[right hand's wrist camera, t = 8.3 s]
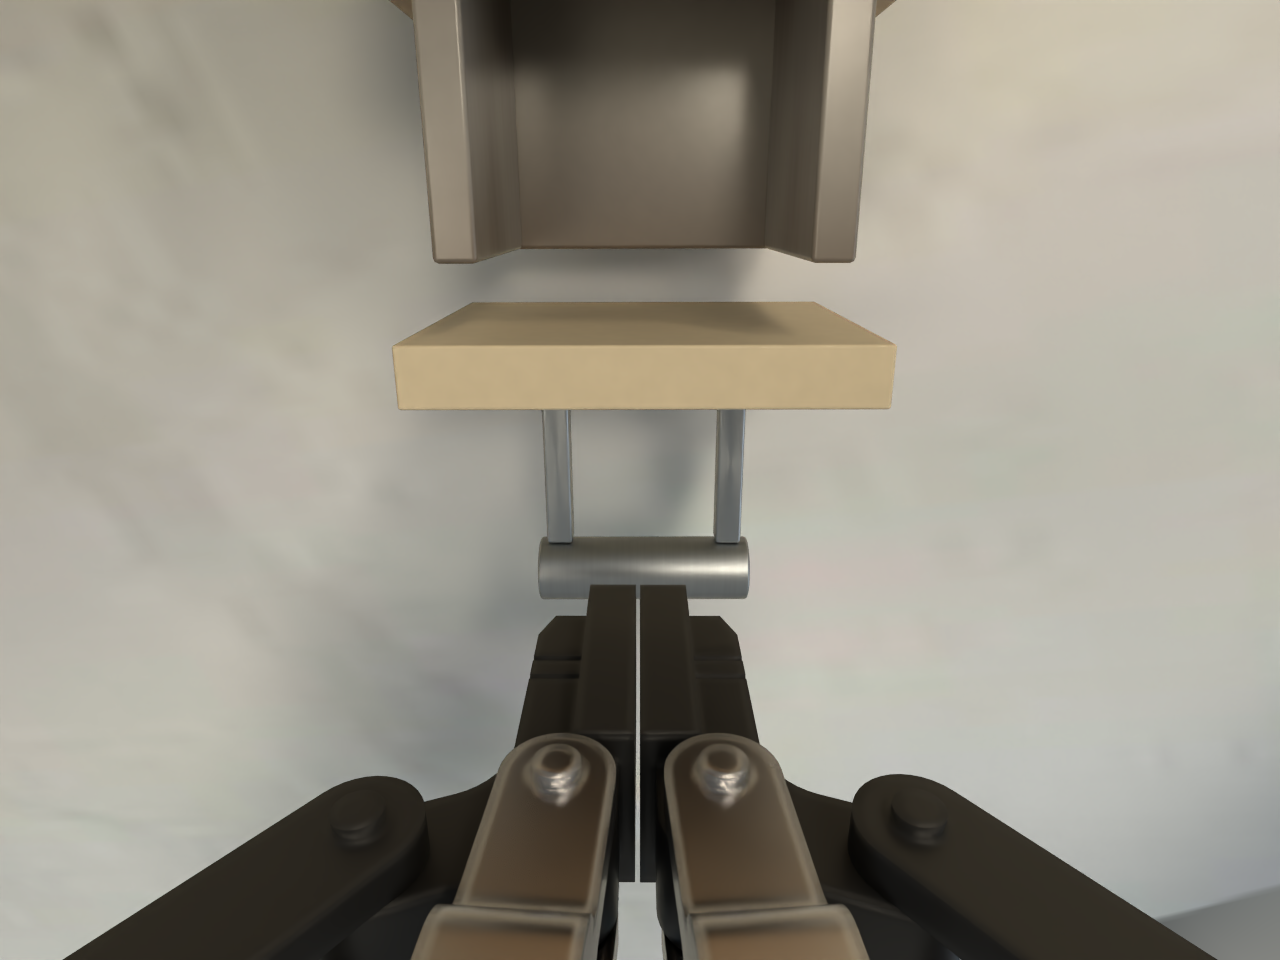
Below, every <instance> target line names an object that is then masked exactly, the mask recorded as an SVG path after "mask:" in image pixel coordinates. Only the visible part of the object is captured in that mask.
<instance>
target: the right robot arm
mask: <svg viewBox="0 0 1280 960" xmlns="http://www.w3.org/2000/svg"><path fill="white" fill-rule="evenodd" d="M635 795H636V584H591V585H590V591H589V599H588V608H587V616H556V617H555V618H554V619H553V620H552V621H551V622H550V623H549V624H548V625H547V626H546V627H545V628H544V629H543V631H542V632H541V633H540V634H539V636H538V640H537V645H536V650H535V654H534V660H533V663H532V668H531V673H530V679H529V682H528V687H527V691H526V696H525V701H524V705H523V710H522V715H521V719H520V724H519V729H518V733H517V738H516V743H515V747H514V749H513V750H512V751H511V752H510V753H509V754H508V755H507V756H506V757H505V759H504V760H503V761H502V763H501V765H500V767H499V770H498V773H497V774H495V775H494V776H493V777H491V778H490V779H489V780H487V781H485V782H484V783H482V784H480V785H478V786H476V787H474V788H472V789H469V790H467V791H464V792H460V793H457V794H454V795H450V796H446V797H442V798H438V799H434V800H430V801H426V802H424V801H423V798H422V796H421V794H420V793H419V791H418V790H417V789H416V788H415V787H414V786H412V785H411V784H409V783H407V782H406V781H403V780H400V779H398V778H393V777H387V776H371V777H363V778H358V779H354V780H351V781H347V782H344V783H342V784H340V785H337V786H335V787H333V788H331V789H329V790H328V791H326V792H324V793H322V794H321V795H319V796H318V797H316V798H315V799H313V800H311V801H310V802H308V803H307V804H305V805H304V806H302V807H301V808H299V809H297V810H296V811H294V812H293V813H291V814H290V815H288V816H286V817H285V818H283V819H282V820H280V821H279V822H277V823H276V824H274V825H272V826H271V827H269V828H268V829H266V830H265V831H263V832H261V833H260V834H258V835H257V836H255V837H254V838H252V839H251V840H249V841H247V842H246V843H244V844H243V845H241V846H240V847H238V848H236V849H235V850H233V851H232V852H230V853H229V854H227V855H226V856H224V857H222V858H221V859H219V860H218V861H216V862H215V863H213V864H211V865H210V866H208V867H207V868H205V869H204V870H202V871H201V872H199V873H197V874H196V875H194V876H193V877H191V878H190V879H188V880H186V881H185V882H183V883H182V884H180V885H179V886H177V887H176V888H174V889H172V890H171V891H169V892H168V893H166V894H165V895H163V896H161V897H160V898H158V899H157V900H155V901H154V902H152V903H151V904H149V905H147V906H146V907H144V908H143V909H141V910H140V911H138V912H136V913H135V914H133V915H132V916H130V917H129V918H127V919H126V920H124V921H122V922H121V923H119V924H118V925H116V926H115V927H113V928H111V929H110V930H108V931H107V932H105V933H104V934H102V935H101V936H99V937H97V938H96V939H94V940H93V941H91V942H90V943H88V944H86V945H85V946H83V947H82V948H80V949H79V950H77V951H76V952H74V953H72V954H71V955H69V956H68V957H66V958H65V959H63V960H617V952H618V894H619V882H635ZM640 882H656V909H657V917H658V920H659V923H660V926H661V928H662V952H663V960H960V959H961V960H1217V959H1215V958H1214V957H1212V956H1211V955H1209V954H1208V953H1206V952H1204V951H1203V950H1201V949H1200V948H1198V947H1197V946H1195V945H1193V944H1192V943H1190V942H1189V941H1187V940H1186V939H1184V938H1183V937H1181V936H1179V935H1178V934H1176V933H1175V932H1173V931H1172V930H1170V929H1168V928H1167V927H1165V926H1164V925H1162V924H1161V923H1159V922H1158V921H1156V920H1154V919H1153V918H1151V917H1150V916H1148V915H1147V914H1145V913H1143V912H1142V911H1140V910H1139V909H1137V908H1136V907H1134V906H1133V905H1131V904H1129V903H1128V902H1126V901H1125V900H1123V899H1122V898H1120V897H1118V896H1117V895H1115V894H1114V893H1112V892H1111V891H1109V890H1108V889H1106V888H1104V887H1103V886H1101V885H1100V884H1098V883H1097V882H1095V881H1094V880H1092V879H1090V878H1089V877H1087V876H1086V875H1084V874H1083V873H1081V872H1079V871H1078V870H1076V869H1075V868H1073V867H1072V866H1070V865H1069V864H1067V863H1065V862H1064V861H1062V860H1061V859H1059V858H1058V857H1056V856H1054V855H1053V854H1051V853H1050V852H1048V851H1047V850H1045V849H1044V848H1042V847H1040V846H1039V845H1037V844H1036V843H1034V842H1033V841H1031V840H1029V839H1028V838H1026V837H1025V836H1023V835H1022V834H1020V833H1019V832H1017V831H1015V830H1014V829H1012V828H1011V827H1009V826H1008V825H1006V824H1004V823H1003V822H1001V821H1000V820H998V819H997V818H995V817H994V816H992V815H990V814H989V813H987V812H986V811H984V810H983V809H981V808H979V807H978V806H976V805H975V804H973V803H972V802H970V801H969V800H967V799H965V798H964V797H962V796H961V795H959V794H958V793H956V792H954V791H953V790H951V789H949V788H948V787H946V786H944V785H942V784H940V783H937V782H935V781H932V780H929V779H926V778H923V777H918V776H913V775H905V774H892V775H885V776H880V777H877V778H874V779H872V780H870V781H868V782H867V783H865V784H864V785H863V786H862V787H860V788H859V790H858V791H857V793H856V794H855V796H854V799H853V803H851V802H847V801H843V800H839V799H835V798H831V797H827V796H823V795H819V794H816V793H813V792H810V791H807V790H805V789H802V788H800V787H797V786H796V785H794V784H792V783H790V782H789V781H787V780H786V779H785V778H784V776H783V773H782V770H781V767H780V765H779V763H778V761H777V760H776V759H775V757H774V756H773V755H772V754H771V753H770V752H769V751H768V750H767V749H766V748H764V747H763V746H761V745H760V744H759V739H758V734H757V729H756V724H755V719H754V714H753V709H752V705H751V700H750V695H749V690H748V685H747V680H746V679H745V671H744V666H743V661H742V656H741V651H740V646H739V641H738V637H737V634H736V633H735V632H734V631H733V630H732V629H731V628H730V627H729V625H728V624H727V623H726V622H725V621H724V620H723V619H722V618H721V617H720V616H689V610H688V601H687V591H686V585H640ZM959 958H960V959H959Z"/></svg>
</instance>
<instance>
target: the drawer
mask: <svg viewBox="0 0 1280 960" xmlns="http://www.w3.org/2000/svg"><path fill="white" fill-rule="evenodd" d="M876 4H877V0H412V11H413V23H414V35H415V47H416V59H417V71H418V83H419V95H420V107H421V119H422V131H423V143H424V155H425V167H426V180H427V192H428V204H429V216H430V228H431V240H432V252H433V259H434V261H435V262H436V263H439V264H473V263H476V262H479V261H483V260H486V259H489V258H492V257H495V256H498V255H502V254H505V253H508V252H511V251H514V250H517V249H691V248H768V249H771V250H774V251H778V252H781V253H784V254H788V255H791V256H794V257H798V258H801V259H804V260H808V261H811V262H815V263H850V262H853V261H854V260H855V257H856V247H857V235H858V222H859V210H860V198H861V186H862V174H863V162H864V149H865V137H866V125H867V113H868V101H869V89H870V76H871V64H872V52H873V40H874V28H875V16H876ZM896 351H897V346H896V345H895V344H893V343H891V342H890V341H888V340H886V339H884V338H882V337H880V336H878V335H876V334H874V333H872V332H871V331H869V330H867V329H865V328H863V327H861V326H859V325H857V324H855V323H853V322H851V321H850V320H848V319H846V318H844V317H842V316H840V315H838V314H836V313H834V312H832V311H831V310H829V309H827V308H825V307H823V306H821V305H819V304H817V303H815V302H488V303H470V304H469V305H467V306H465V307H463V308H461V309H459V310H458V311H456V312H454V313H452V314H450V315H449V316H447V317H445V318H443V319H441V320H439V321H438V322H436V323H434V324H432V325H430V326H428V327H427V328H425V329H423V330H421V331H419V332H417V333H416V334H414V335H412V336H410V337H408V338H406V339H405V340H403V341H401V342H399V343H397V344H395V345H394V346H393V347H392V353H393V362H394V372H395V382H396V391H397V401H398V408H399V409H400V410H542V422H543V445H544V469H545V492H546V515H547V537H543V538H542V539H541V542H540V547H539V557H538V584H539V592H540V596H541V598H542V599H589V591H590V585H591V584H636V599H640V585H686V591H687V599H745V598H746V597H747V595H748V591H749V581H750V561H749V549H748V543H747V540H746V538H745V537H743V536H740V530H741V506H742V482H743V458H744V434H745V410H746V409H889V408H890V407H891V400H892V390H893V380H894V370H895V360H896ZM704 409H717V425H716V459H715V492H714V526H713V533H714V536H687V537H573V536H574V512H573V479H572V447H571V415H570V410H704Z"/></svg>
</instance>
